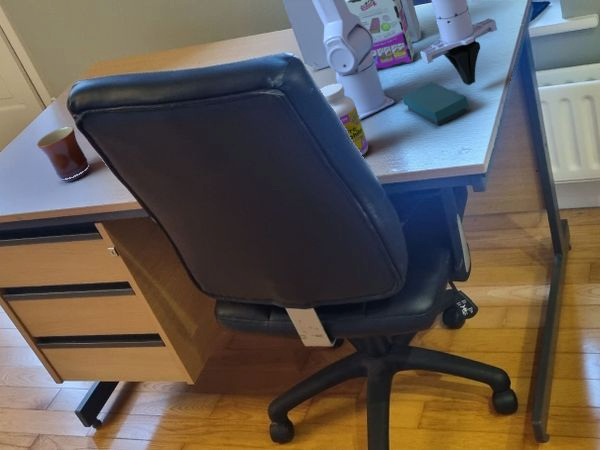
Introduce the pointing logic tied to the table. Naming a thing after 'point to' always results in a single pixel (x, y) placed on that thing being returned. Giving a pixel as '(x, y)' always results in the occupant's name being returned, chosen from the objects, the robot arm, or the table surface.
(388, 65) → the candy bar box
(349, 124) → the supplement bottle
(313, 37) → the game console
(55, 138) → the mug
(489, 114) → the table surface
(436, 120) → the teal flat panel
